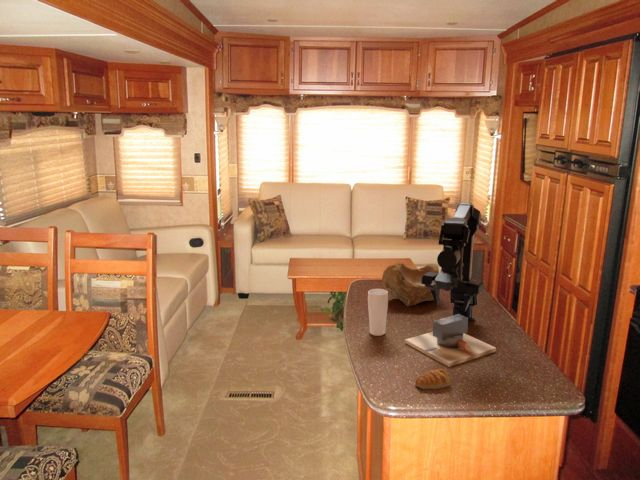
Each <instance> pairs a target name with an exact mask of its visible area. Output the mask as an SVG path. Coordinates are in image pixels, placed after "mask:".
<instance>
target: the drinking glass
mask: <svg viewBox="0 0 640 480" xmlns="http://www.w3.org/2000/svg"><path fill="white" fill-rule="evenodd" d="M388 305H389V291H388V290H386V289H383V288H372V289H369V290H368V292H367V307H368V310H367V312H368V321H369V322H368V323H369V325H368V326H369V333H370V335H372V336H374V337H375V336H376V337H380V336H381V337H382V336H383V335H385V334H386V327H387V325H386V324H387V317H388V316H387V315H388Z"/></svg>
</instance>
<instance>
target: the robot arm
mask: <svg viewBox="0 0 640 480" xmlns="http://www.w3.org/2000/svg"><path fill="white" fill-rule="evenodd" d="M481 214H482V213H481V211H480V209H477V208H476V207H475V206H474V204H472V203H466V202H465V203H463V202H461V203H458V204H457V207H456V209H455V211H454V214H453V217H449V218H447V219H446V220H444V221H443V223H442V224H441V227H440V234H439V237H438V242H437V243H438V245H439V246H440V245H441V246H442V247H443V249H442V250H441V251H440V252H439V253H438V254H437V259H436V260H437V264H438V265H439V267H440V268H441V269H440V270H439V273H434V272H428V273H426V274H424V275H423V276H422V277H421V284H425V287H428V288H429V289H430V291H431V293H432V295H433V298H434V300H433V302H434V304H435V306H437V307H438V306H439V303H440V296H441V295H440V294H441V293H440V292H441V291H440V290H444V291H447V292H448V291H450V292H449V293H450V294H449V296H450V304H453V307H452V316H453V315H457V314H460V315H463V316H465V317H467V318H468V323H469V322H471V321H475V320H476V318H475V317H473V308H474V307H475V306H478V301H479V300H478V299H479V298H478V295H479V294H480V293H481V292H483V291H484V290H485V283H484V281H483V280H477V279H473V278H472V277H471V274H472V273H471V272H472V260H473V259H472V258H473V248H474V247H473V245H474V236H475V235H476V234H477V232H478V230H479V227H480V226H481V224H482V215H481Z"/></svg>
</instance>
